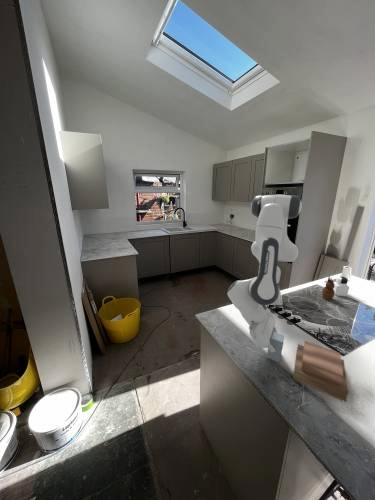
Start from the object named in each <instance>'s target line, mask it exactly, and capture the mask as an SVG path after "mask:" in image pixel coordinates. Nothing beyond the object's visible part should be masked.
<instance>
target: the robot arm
mask: <svg viewBox="0 0 375 500" xmlns="http://www.w3.org/2000/svg"><path fill="white" fill-rule="evenodd" d="M302 208H303V202H302V199H301V197H300V196H299V195H293V194H292V195H288V194H277V193H276V194H267V195H262V194H260V195H256V196H255V197H254V198H253V199H252V201H251V204H250V210H251V214H252V215H253V216H254V217H256V218H257V221H256V227H255V234H254V235H255V236H254V239H255V241H253V242H252V244H251V247H250V251H251V253H252V255H253V256H254V257H255V258H256V259H257V260H258V263H259V266H258V274H257V276H255V277H252V278H249V279H244V280H243V279H242V280H239V279H238V280H237V279H236V280H235V281H234V282H232V283H231V284H230V286H229V287H228V289H227V292H226V293H227V296H228V299H229V300H230V301H231V303H232V305H233V306H234V307H235V308H236V309H237V310H238V311H239V312H240V314H241V317H242V318H243V319H244V321H245V322H246V323H247V324H248V325H249V326H248V329H249V335H250V337H251V339H252V341H253V343H254V344H255V346H256V347H257V348H258V349H260V350H262V349H266V348H267V350H268V349H270V351H271V352H275V350H276V348H275V347H274V345H273V346H272V345H270V342H269V340H270V337H271V334H272V331H274V332H277V333H279V332H278V329H277V327H276V326H275V325H276V318H275V316H274V315H273V313H272V312H271V311H270V310H269V308H268V307H269V305H281V306H283V303H284V302H283V295H282V293H281V290H280V286H281V283H280V279H281V271H282V270H281V269H280V267H279V266H278V262H285V263H286V262H290V263H291V262H294V261H296V260H297V258H298V256H299V254H300V253H299V249H298V246H297V245H296V244H294V243H293V242H292V241H291V240H290V238H289V236H288V220H290V219H295V218H297V217H298V216H299V215H300V213H301V211H302Z"/></svg>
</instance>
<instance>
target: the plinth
mask: <svg viewBox="0 0 375 500" xmlns="http://www.w3.org/2000/svg"><path fill="white" fill-rule="evenodd" d="M293 368H294V369H293V376H292V380H295V381H296V382H298V383H301V384H303V385H306V386H308V387H310V388H312V389H315V390H316V391H319V392H322V393H325V394H327V395H329V396H331V397H334V398H335V399H338V400H339V401H343V402H347V398H348V396H349V389H348V388H349V387H348V381H347V374H346V367H345V360H344V359H342V356H341V352H338V351H336V350H333V349H329V348H327V347H324V346H321V345H318V344H315V343H313V342H309V341H307V340H305V341H304V343H303V345H302V344H299V343H297V348H296V353H295V361H294V367H293Z"/></svg>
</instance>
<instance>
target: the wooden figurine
mask: <svg viewBox="0 0 375 500" xmlns="http://www.w3.org/2000/svg"><path fill="white" fill-rule="evenodd" d="M332 278H333V277H330V276H328V278H327V282H326V283H325V286H324V287H323V289H321V290H322V291H321V294H322V297H323V298H324V299H325V300H327V301H328V300H331V301H332V299H333V298H334V297H335V295H334V294H335V292H334V290H333V288H334V282H335V281H333V279H332Z"/></svg>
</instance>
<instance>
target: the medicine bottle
mask: <svg viewBox="0 0 375 500" xmlns="http://www.w3.org/2000/svg"><path fill="white" fill-rule="evenodd" d="M335 279H336V280H335V281H333V282H334V288H333V290H334V292H335V294H334V296H337V297H347V296H348V294H349V290H350V286H348V285H347V284H348V281H349V279H348V278H347V277H345V276H342V275H341V276H336V278H335Z"/></svg>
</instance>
